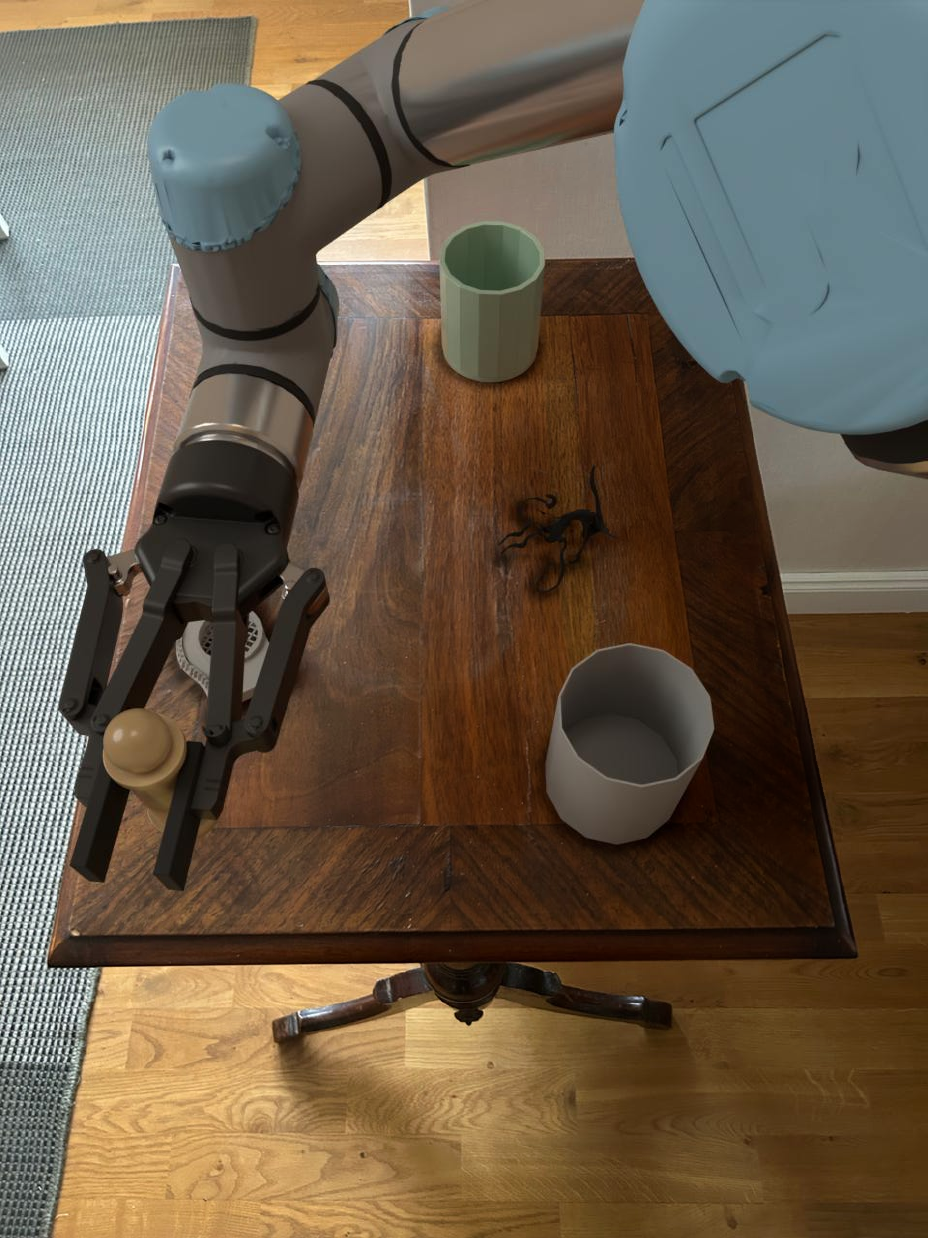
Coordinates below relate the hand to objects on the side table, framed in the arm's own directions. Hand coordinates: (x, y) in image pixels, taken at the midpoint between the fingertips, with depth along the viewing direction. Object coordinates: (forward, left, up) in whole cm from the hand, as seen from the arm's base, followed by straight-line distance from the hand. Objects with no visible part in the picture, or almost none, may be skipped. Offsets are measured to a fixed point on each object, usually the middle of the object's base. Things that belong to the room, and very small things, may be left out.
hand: (128, 877), depth 47 cm
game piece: (0, -5, -6) cm, 8 cm away
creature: (-20, -28, -13) cm, 37 cm away
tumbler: (-15, -47, -13) cm, 51 cm away
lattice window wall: (0, -22, -12) cm, 25 cm away
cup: (-24, -11, -13) cm, 30 cm away
